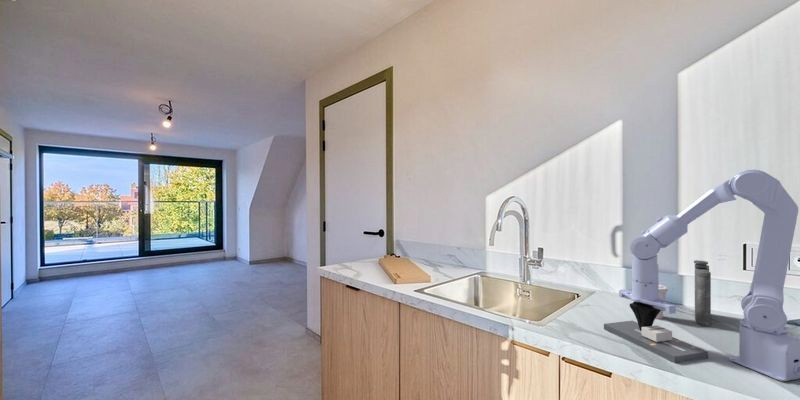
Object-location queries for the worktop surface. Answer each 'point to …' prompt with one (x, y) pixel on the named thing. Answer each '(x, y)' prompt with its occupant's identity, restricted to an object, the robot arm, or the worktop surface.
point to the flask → (702, 293)
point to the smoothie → (662, 295)
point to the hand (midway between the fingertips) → (645, 331)
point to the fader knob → (656, 333)
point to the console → (657, 343)
